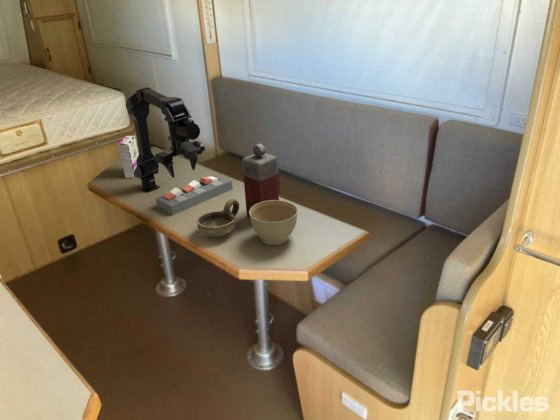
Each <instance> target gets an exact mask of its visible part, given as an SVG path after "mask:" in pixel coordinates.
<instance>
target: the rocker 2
mask: <svg viewBox="0 0 560 420" xmlns="http://www.w3.org/2000/svg"><path fill="white" fill-rule="evenodd" d="M197 181H198V180H196V179H194V180H192V181H190V182H189V183H188V184H187V185H184V186H185V187H184V186H183V187H184V188H183V189H182V190H183V192H184V193H189V192H191V191H193V190H196V189H198V188H199V187H200V186H201V185H200V182H197Z"/></svg>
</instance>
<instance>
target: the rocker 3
mask: <svg viewBox="0 0 560 420" xmlns="http://www.w3.org/2000/svg"><path fill="white" fill-rule="evenodd" d="M199 180H200V182H203V183H205V184H210V183H213V182H215V181H217V180H218V178H215V177H209V176H202V177H200V179H199Z"/></svg>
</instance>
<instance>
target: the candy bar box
mask: <svg viewBox="0 0 560 420" xmlns="http://www.w3.org/2000/svg"><path fill="white" fill-rule="evenodd" d="M117 148H118V151H119V156H120V160H121V166H122V169H123V174H124V178H125V179H135V178H137V177H135V174H134V171H135V169H136V167H137V161H136V160H137V158H138V155H139V148H138V142H137V137H136V135H126V136H123V138H122V139H121V141H119V142H118V144H117Z"/></svg>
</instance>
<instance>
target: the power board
mask: <svg viewBox="0 0 560 420" xmlns="http://www.w3.org/2000/svg"><path fill="white" fill-rule="evenodd" d="M208 177H215V178H218V180H217V181H215V182H213V183H210V184H205V183H203V182H200V179H199V180H196V181H197V182H200V185H201V186H200V187H199V188H198V189H196V190H193V191H191V192H189V193H184V192H183V190H182V189H183V188H184V187H185V186H186V185H184V186H182V187H180V188H178V189H180V190H181V191H182V193H183V194H181V195H180V196H179V197H177V198H174V199H172V200H169V201H168V200H166V199H164V197H163V196H165V195H166V194H167V193H165V194H162V195H159V196H157V197H155V204H156V207H157V208H159V209H161V210H162V211H164V212H166V213H167V214H170V215H171V214H172V215H171V216H175V215H176V213H177V214H179V213H181V212H184V211H185V210H186V211H187V209H188V210H189V209H190V207H191V208H193V207H195V206H198V205H200V204H202V203H204V202H206V201H209V200H211V199H213V198H216V197H217V196H220V195H221V194H225V193H227V192H229V191H232V190H233V180H231V179H229V178H226V177H224V176H222V175H219V174H216V173H214V174H211V175H210V176H209V175H208ZM215 196H216V197H215ZM199 203H200V204H199ZM192 206H193V207H192ZM183 210H184V211H183ZM174 214H175V215H174Z"/></svg>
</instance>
